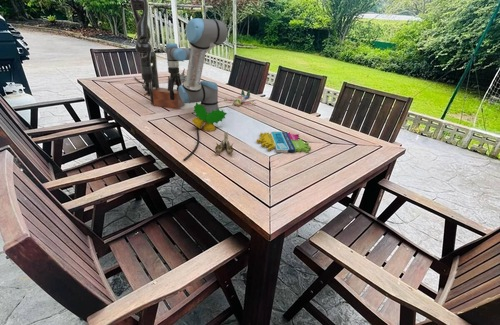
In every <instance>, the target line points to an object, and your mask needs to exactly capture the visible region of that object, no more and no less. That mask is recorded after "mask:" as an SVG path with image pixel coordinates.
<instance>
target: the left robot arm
mask: <svg viewBox="0 0 500 325" xmlns="http://www.w3.org/2000/svg"><path fill="white" fill-rule="evenodd" d="M129 2H130V7H131V10H132V14H133V18H134V22H135V28H136V42H135V47H134V48H135V51H136V53H137V54H141V57H139V62H140V73H141V79H142V80H143V81H140V80H139V79H137V78H136V77H135V76H134V80H136V81H137V82H138V83H140V84H142V86H141V87H142V89H143V90H144V92H145V91H146V93H148V95H150V91H152V90H154V89H157V88H160V83H159V73H158V64H157V63H158V62H157V53H156V52H155V51H152V50H153V49H152V48H153V47H152V45H151V43H149V42H150V41H151V37H152V35H151V29H150V26H149V24H148V19H149V3H148V0H129ZM139 11H142V13H141V14H140V13H139ZM148 95H147V96H148Z"/></svg>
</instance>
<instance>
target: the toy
mask: <svg viewBox="0 0 500 325" xmlns="http://www.w3.org/2000/svg"><path fill="white" fill-rule="evenodd" d="M240 92H241V93H240V95H238V96H237V97H235V99H233V98H230V99H228V98H227V97H226V96H225V97H224V98H223V101H224V102H233V103H232V104H233V105H235V106H242V103H243V104H247V105H252V106H255V105H256V104H257V103H256V102H254V101H253V100H252V101H251V102H250V101H248V100H246V99H248V98H250V97H251V90H250V89H249V90H248V91H247V92H246V93H245V91H244V89H242V90H241V91H240Z"/></svg>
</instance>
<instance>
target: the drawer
mask: <svg viewBox="0 0 500 325" xmlns="http://www.w3.org/2000/svg"><path fill="white" fill-rule="evenodd" d="M154 90H155V89H154ZM143 96H144V97H146V96H148V97H150V104H151V105H154V102H153V94H152V91H150V95H148V93H147V92H145V93H143Z"/></svg>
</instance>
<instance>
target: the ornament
mask: <svg viewBox="0 0 500 325" xmlns="http://www.w3.org/2000/svg"><path fill="white" fill-rule="evenodd" d="M219 110H220V108H219V109H217V110H216V111H214V110H212V112H211V113H208V112H206V109H204V106H201V103H199V102H195V105H194V106H193V112H194V113H195V118H192V119H191V122H192V123H193V125H195V127H196V128H197V127H198V129H202V130H203V131H206V132H212V131H213V132H214V131H215V130H216V126H215V124H218V123H219V122H223V119H226V115H227V114H228V113H227V112H224V110H223V109H221V110H220V111H219ZM207 113H208V115H207ZM204 121H205V122H204ZM214 123H215V124H214Z"/></svg>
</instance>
